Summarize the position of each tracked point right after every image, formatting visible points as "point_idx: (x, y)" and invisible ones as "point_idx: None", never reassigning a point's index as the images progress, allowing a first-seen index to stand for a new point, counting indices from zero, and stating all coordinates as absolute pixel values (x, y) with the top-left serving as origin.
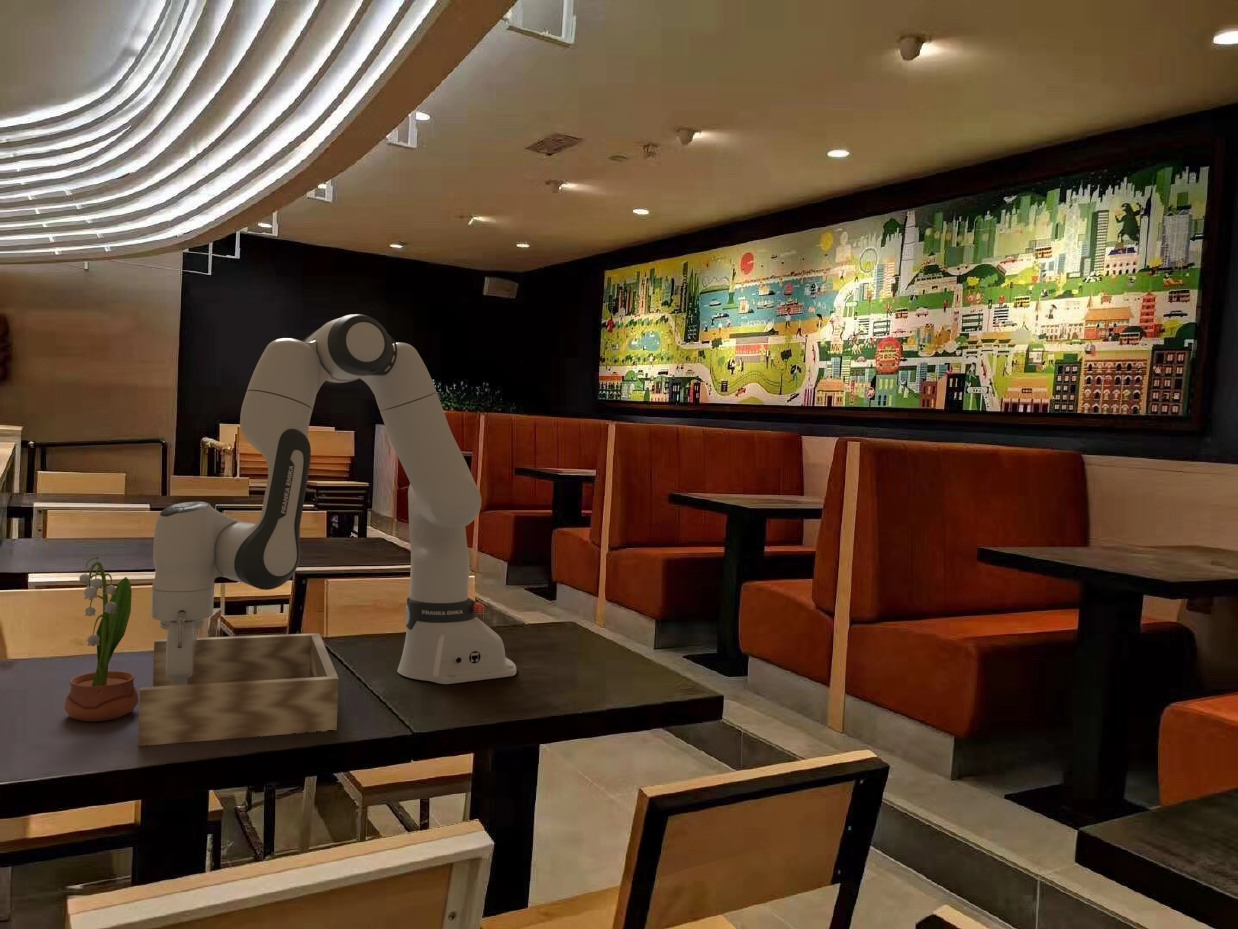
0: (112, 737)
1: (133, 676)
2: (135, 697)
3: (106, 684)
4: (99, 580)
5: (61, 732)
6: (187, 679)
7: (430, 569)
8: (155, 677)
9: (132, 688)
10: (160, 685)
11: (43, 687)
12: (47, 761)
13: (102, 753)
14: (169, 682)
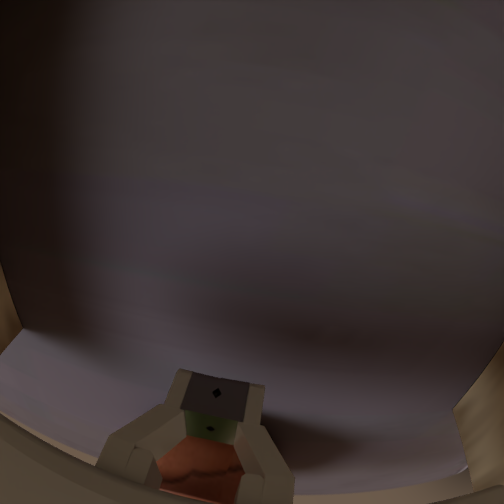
0: (383, 440)
1: (186, 496)
2: (228, 453)
3: (200, 500)
4: None
5: (299, 475)
6: (179, 403)
7: None
8: (6, 341)
9: (214, 475)
10: (14, 318)
11: (52, 426)
12: (425, 470)
13: (452, 438)
14: (4, 305)
